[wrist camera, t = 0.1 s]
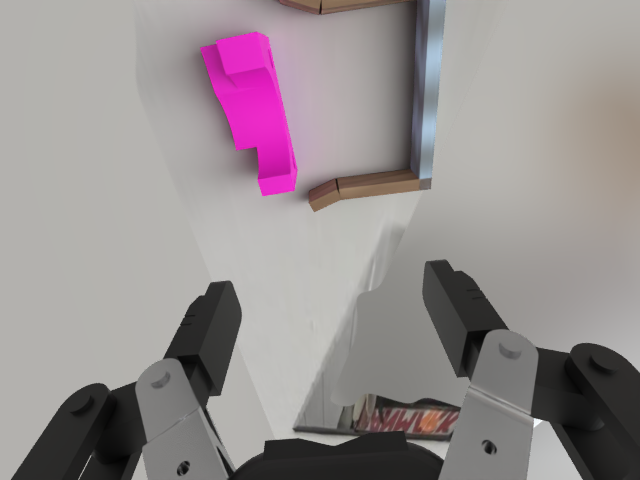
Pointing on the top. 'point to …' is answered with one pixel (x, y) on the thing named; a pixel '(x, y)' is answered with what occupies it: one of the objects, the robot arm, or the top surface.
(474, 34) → the top surface
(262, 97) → the magenta saddle bracket
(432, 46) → the cradle
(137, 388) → the robot arm
